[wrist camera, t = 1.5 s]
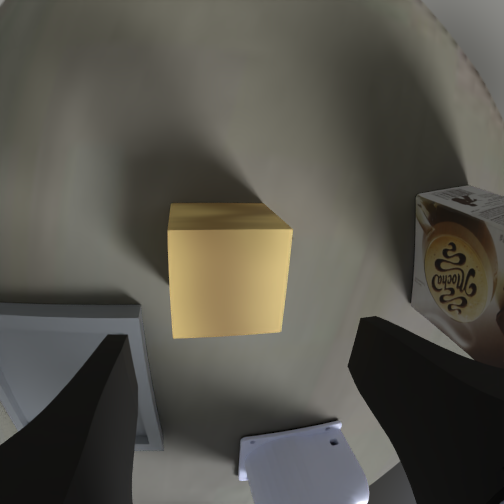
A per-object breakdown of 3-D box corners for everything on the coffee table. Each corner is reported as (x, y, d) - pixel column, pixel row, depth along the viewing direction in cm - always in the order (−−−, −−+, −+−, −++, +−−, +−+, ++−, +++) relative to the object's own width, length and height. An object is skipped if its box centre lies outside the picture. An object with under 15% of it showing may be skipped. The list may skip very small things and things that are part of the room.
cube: (263, 203, 18) (292, 229, 13) (256, 285, 19) (281, 332, 15) (171, 202, 17) (167, 230, 12) (173, 287, 18) (173, 338, 14)
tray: (140, 304, 18) (138, 318, 17) (163, 437, 23) (163, 450, 21) (-29, 300, 15) (-39, 311, 14) (26, 426, 20) (23, 438, 18)
